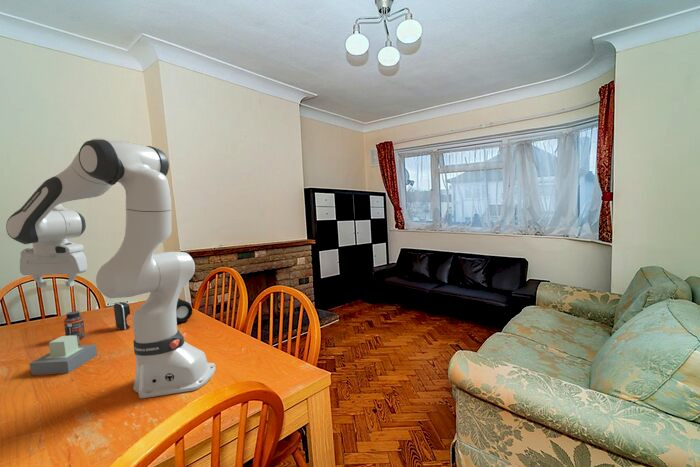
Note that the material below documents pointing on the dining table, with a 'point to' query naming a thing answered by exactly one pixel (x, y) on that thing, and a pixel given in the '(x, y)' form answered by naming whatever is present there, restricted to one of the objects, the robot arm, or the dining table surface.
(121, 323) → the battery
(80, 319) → the supplement bottle
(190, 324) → the dining table surface
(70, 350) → the sage cube
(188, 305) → the portable speaker
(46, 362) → the base block
